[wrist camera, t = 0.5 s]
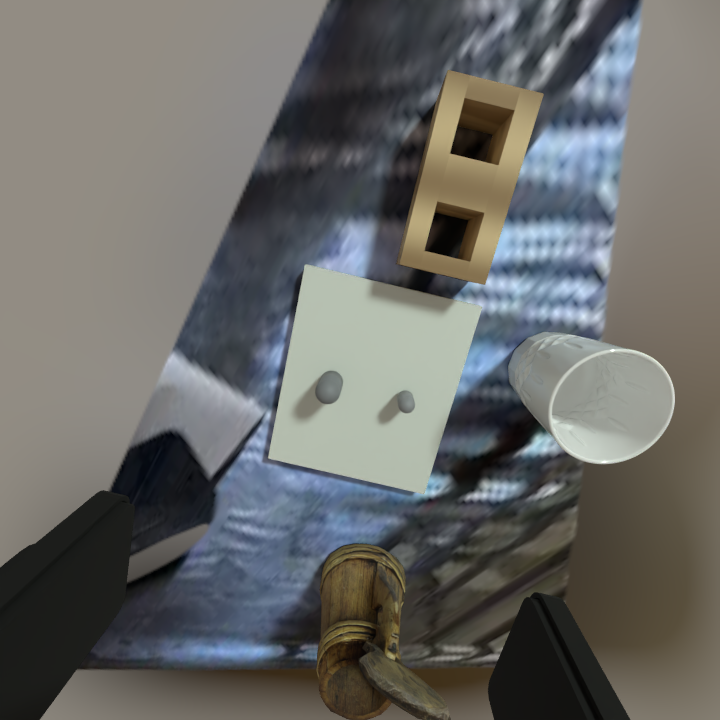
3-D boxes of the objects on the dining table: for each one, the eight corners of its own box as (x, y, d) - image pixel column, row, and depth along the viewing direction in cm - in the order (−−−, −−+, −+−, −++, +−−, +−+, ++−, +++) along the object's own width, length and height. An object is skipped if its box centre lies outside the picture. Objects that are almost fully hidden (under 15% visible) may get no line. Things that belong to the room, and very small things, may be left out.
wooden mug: (445, 533, 39) (500, 750, 22) (378, 626, 42) (380, 880, 25) (368, 493, 38) (361, 685, 21) (305, 590, 42) (255, 827, 24)
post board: (308, 264, 33) (293, 264, 27) (477, 305, 34) (498, 313, 28) (272, 450, 38) (253, 485, 32) (422, 485, 38) (430, 525, 32)
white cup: (494, 406, 36) (538, 459, 26) (507, 321, 34) (561, 344, 24) (581, 412, 36) (658, 468, 26) (599, 327, 34) (690, 353, 24)
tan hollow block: (436, 101, 30) (447, 69, 25) (516, 121, 30) (543, 93, 25) (395, 263, 33) (399, 264, 28) (468, 281, 33) (485, 284, 28)
